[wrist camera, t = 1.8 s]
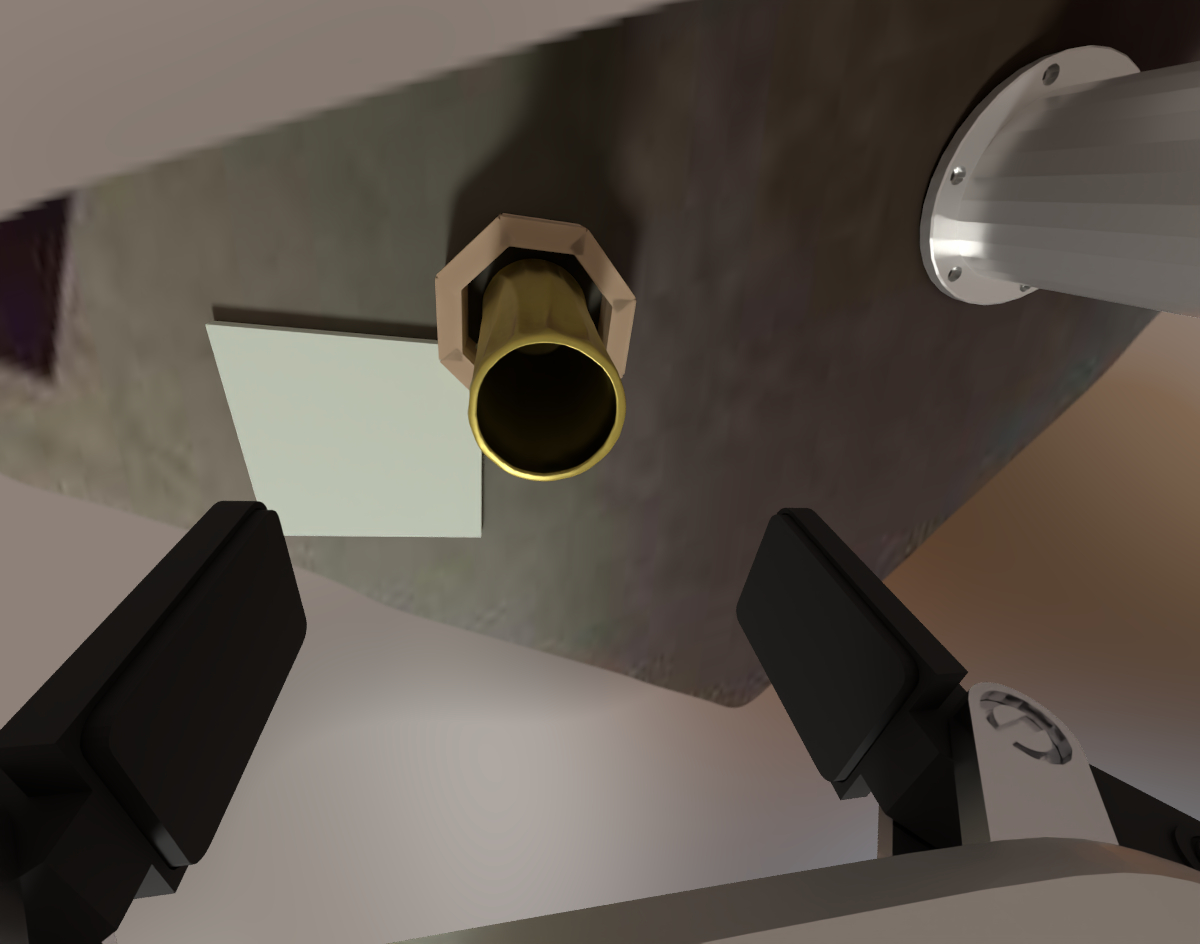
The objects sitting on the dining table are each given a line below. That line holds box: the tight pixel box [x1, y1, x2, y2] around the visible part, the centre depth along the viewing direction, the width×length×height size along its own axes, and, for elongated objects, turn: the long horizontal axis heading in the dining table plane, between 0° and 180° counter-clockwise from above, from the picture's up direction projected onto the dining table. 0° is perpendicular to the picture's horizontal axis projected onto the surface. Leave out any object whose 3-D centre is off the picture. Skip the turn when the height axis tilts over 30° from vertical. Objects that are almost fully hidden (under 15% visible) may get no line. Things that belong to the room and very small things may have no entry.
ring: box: [435, 213, 636, 390], centre depth 26 cm, size 10×10×4 cm
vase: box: [467, 259, 626, 481], centre depth 21 cm, size 6×6×14 cm
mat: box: [205, 321, 482, 537], centre depth 29 cm, size 14×14×1 cm
